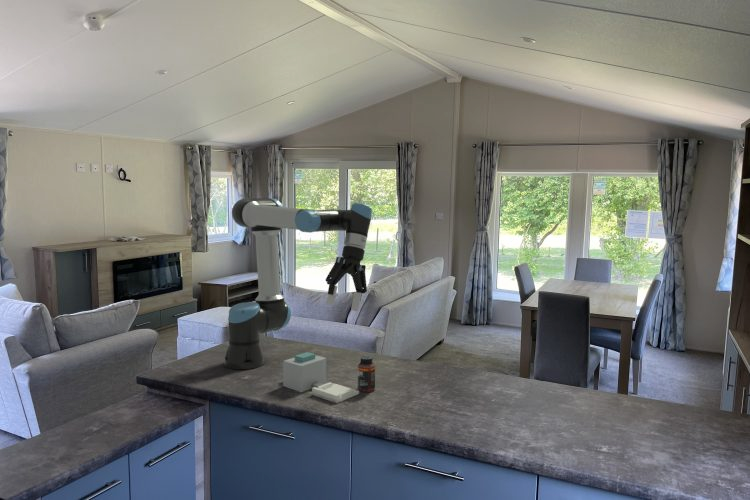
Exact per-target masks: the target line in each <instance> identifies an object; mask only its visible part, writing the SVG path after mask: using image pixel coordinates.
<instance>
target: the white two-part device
mask: <svg viewBox="0 0 750 500" xmlns="http://www.w3.org/2000/svg"><path fill="white" fill-rule="evenodd" d="M282 363H283V365H282V366H283V367H282V368H283V371H282V375H283V377H282V378H283V380H282V381H283V382H282V383H283V384H282V386H283V387H285V388H288V389H291V390H294V391H296V392H300V393H304V392H306V391H309V390H311V395H312V396H314V397H317V398H320V399H323V400H326V401H329V402H331V403H335V404H339V403H341V402H343V401H345V400H348V399H350V398H352V397H355V396H357V395H359V394H360V391H359V390H358V389H354V388H351V387H348V386H344V385H341V384H337V383H333V382H331V381H330V382H327V357H324V356H320V355H316V354H315V353H312V352H308V351H306V352H302V353H300V354H296V355H294V357H292V358H288V359H285V360H283V361H282Z"/></svg>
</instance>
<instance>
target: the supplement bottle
mask: <svg viewBox="0 0 750 500" xmlns="http://www.w3.org/2000/svg"><path fill="white" fill-rule="evenodd" d="M375 389H376V364H375V362H373V356H371V355H363V356H360V362H358V364H357V390H358V391H359V392H362V393H370V392H374V390H375Z"/></svg>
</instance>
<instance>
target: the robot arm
mask: <svg viewBox="0 0 750 500" xmlns="http://www.w3.org/2000/svg"><path fill="white" fill-rule="evenodd" d="M372 213H373V208H372V207H371V206H370V205H368V204H365V203H361V202H355V203H352V205H351V207H350V209H336V208H335V209H333V208H332V209H308V208H296V207H287V206H286V207H285V206H284V205H283V203H281V201H279V200H278V199H276V198H269V197H244V198H240V199H238V201H236V202H235V203H234V205H233V207H232V208H231V216H232V219H233V221H234V223H236V224H237V225H238V226H239V227H242V228H250V230H251V233H252V234H253V235H254V236H255V250H256V265H257V267H256V268H257V284H258V295H257V297H256V298H254V299H255V301H246V302H240V303H237V304H234V305H232V306H231V307H230V308H229V311H228V317H227V320H228V346H227V349H226V353H225V355H224V359H223V362H224V366H225V367H226V368H228V369H231V370H250V369H255V368H260V367H261V366H263V365H264V364H265V356H264V353H263V350H262V346H261V343H260V338H261V337H260V335H262V334H266V333H270V332H274V331H275V332H277V331H279V330H280V329H283V328H286V326H288V324H289V323H290V321H291V317H292V310H291V306H290V305H289V303H288V302H287V301H286V300H285V296H284V295H283V294H282V293H281V283H280V265H279V247H278V235H279V233H280V232H281V229H287V230H298V231H300V232H302V233H316V232H317V233H318V232H335V231H339V232H341V231H342V232H343V231H345V232H346V233H345V237H344V242H343V244H344V246H343V248H342V254H341V256H336V258H335V262H334V265H333V266H332V267H331V269H330V271H329V273H327V276H326V278H325V282H326V284H327V285H328V290H327V299H326V303H325V304H326V305H327V306H328V305H329V306H335V301H336V296H337V292H338V285H337V284H338V283H339V282H340V280H341V279H342V278H343V277H344V276H345V275H346V274H348V275H350V276H351V277H352V281H353V285H354V288H355V291H354V293H353V298H352V304H351V309H350V311H353V312H359V311H360V310H359V309H360V303H361V300H362V295H363V294H366V293H367V292H368V288H367V278H366V264H361V262H362V261H363V260H364V257H365V249H366V247H367V246H366V245H367V241H368V235H369V234H368V233H369V230H370V226H371V222H372Z"/></svg>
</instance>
